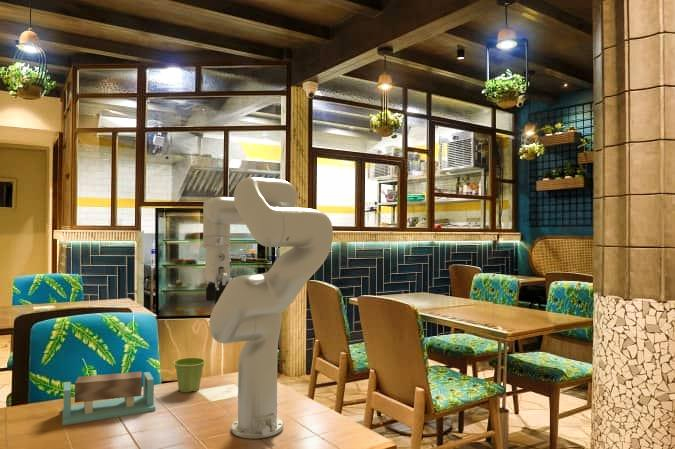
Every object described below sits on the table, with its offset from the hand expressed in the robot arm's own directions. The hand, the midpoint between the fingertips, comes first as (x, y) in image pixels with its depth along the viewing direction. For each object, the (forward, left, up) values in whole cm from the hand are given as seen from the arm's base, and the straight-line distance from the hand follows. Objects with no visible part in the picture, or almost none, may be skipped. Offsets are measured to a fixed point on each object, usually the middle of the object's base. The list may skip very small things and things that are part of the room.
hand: (216, 302), depth 141 cm
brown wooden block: (+7, +27, -24) cm, 37 cm away
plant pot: (+15, +4, -28) cm, 32 cm away
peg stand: (+7, +27, -28) cm, 40 cm away
